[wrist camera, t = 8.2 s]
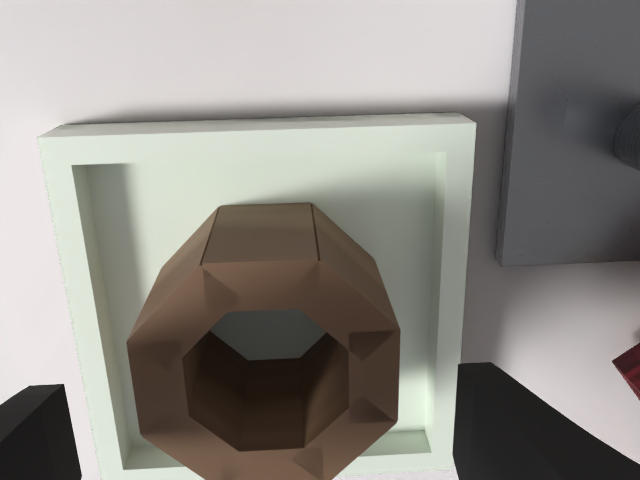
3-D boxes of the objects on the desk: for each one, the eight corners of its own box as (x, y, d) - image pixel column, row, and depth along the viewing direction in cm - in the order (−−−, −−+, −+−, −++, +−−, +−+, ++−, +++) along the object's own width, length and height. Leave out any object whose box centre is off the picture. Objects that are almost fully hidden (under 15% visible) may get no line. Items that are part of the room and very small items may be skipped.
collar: (375, 199, 14) (403, 255, 11) (373, 387, 16) (396, 481, 13) (153, 208, 14) (115, 267, 11) (176, 396, 16) (149, 495, 13)
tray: (439, 433, 18) (452, 469, 16) (117, 450, 17) (102, 490, 16) (457, 112, 14) (476, 123, 13) (61, 124, 14) (37, 137, 13)
